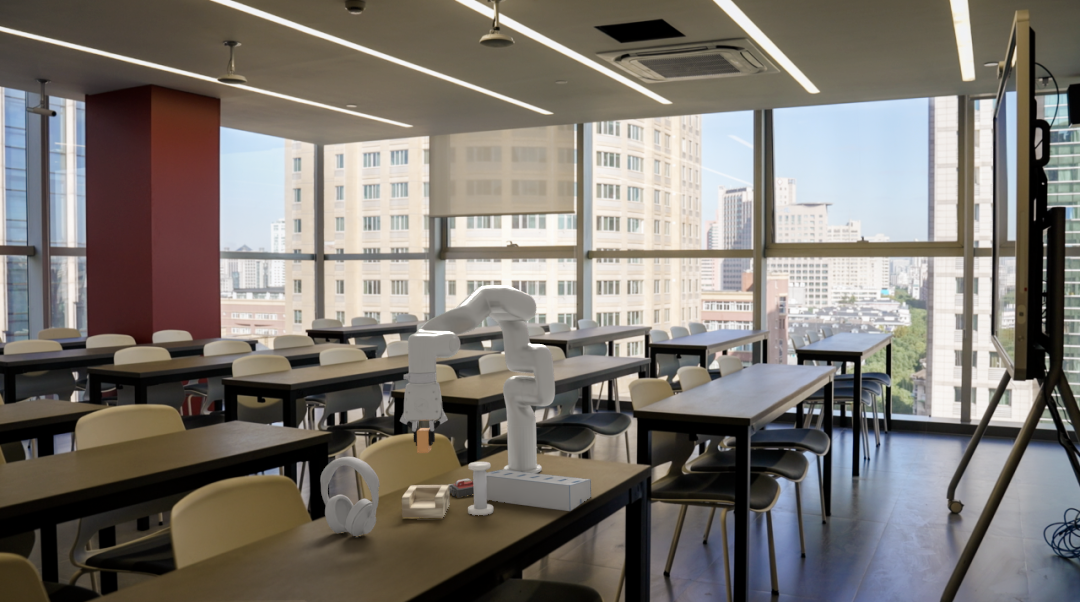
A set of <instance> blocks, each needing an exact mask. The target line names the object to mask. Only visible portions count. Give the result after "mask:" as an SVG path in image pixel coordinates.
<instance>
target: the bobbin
mask: <svg viewBox="0 0 1080 602" xmlns="http://www.w3.org/2000/svg"><path fill="white" fill-rule="evenodd" d="M489 469H491V463H490V462H488V461H474V462H470V463H469V464H468V470H470V471H472V478H473V480H472V481H473V486H474V495H473V504H471V505H469V506H468V507H467V513H468V515H470V514H472V515H471V516H475V515H478V517H479V515H483V516H488V514H489V515H491V514H493V513H494V506H493V504H490V503H488V500H487V481H486V473H487V470H489Z"/></svg>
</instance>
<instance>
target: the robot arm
mask: <svg viewBox="0 0 1080 602" xmlns="http://www.w3.org/2000/svg"><path fill="white" fill-rule="evenodd" d="M536 314H537V303H536V300H535V299H534V298H533V297H532V295H530V294H529V293H526V292H524V291H521V290H520V289H517V288H514V287H513V286H509V285H501V284H500V285H499V284H498V285H481V286H479V287H477V288H475V289H474V290H473V291H472V292H471V293H470V294H469V295H468V296H467V297H465V299H464V300H462V301H461V302H460V303H459V304H457V306H456V307H455V308H451V309H449V310H448V311H445V312H443V313H441V314H439V315H436V316H435V317H433V318H430V319H429V320H427V321H426V322H425V323H424V324H423V325H422V326H420V327H419V328H418V329H417V330H416V332H414V333H412V334H410V335H409V336H408V339H407V347H408V348H407V351H408V356H407V357H408V373H406V374H403V380H406V381H407V382H408V383H406V384H405V387H404V389H405V390H404V399H403V413H402V415H401V417H400V419H399V422H401V423H402V424H404V425H407V426H408V427H409V428H410V429H411V431H412V433H413V443H415V447H417V431H418V430H419V429H420V428H419V422H422V421H424V422H428V423H429V428H430V429H429V446H431V447H432V445H433V444H434V443H435V442H436V433H435V432H436V429H437V428H438V427H439V426H440V425H442V424H443V423H446V422H447V421H448V417H447V415H446V413H445V411H444V409H443V401H442V400H443V399H442V392H441V386H440V382H439V381H437V358H440V359H441V358H443V359H445V358H446V359H447V358H452V357H454V356H455V355H456V354H458V353H459V351H460V349H461V339H460V337H459V336H458V335H463V334H466V333H469V332H472V331H474V330H475V329H477V328H478V327H479V326H480V324H482V322H483V321H484V320H485V319H487V317H490V318H491V319H492V320H493V321H494V322H496V323H497V325H498V326H499V327H500V330H501V333H502V340H503V349H504V350H503V351H504V361H505V365H506V368H507V369H508V370H509V371H510V372H511V373H512V372H514V373H520V374H521V373H522V374H533V375H534V376H531V375H513V376H510V377H508V378H506V380H505V381H504V383H503V388H502V393H503V394H502V395H503V396H504V397H503V398H504V404H505V407H506V408H505V409H506V426H507V427H506V429H507V465H505V466H503V470H509V471H518V472H527V473H536V474H539V473H540V472H542V471H543V470H542V465H540V463H539V464H538V461H537V460H538V458H537V456H538V455H537V424H536V423H537V419H536V418H537V417H536V414H535V412H534V410H533V408H532V406H533V407H547V406H550V405H551V404H552V403H554V400H555V398H556V397H555V395H556V383H555V382H556V381H555V369H554V360H553V359H554V358H553V355H552V354H553V353H552V352H551V350H550V349H549V347H548V346H546V345H544V344H540V343H531V341H530V334H529V327H528V325H527V323H526V322H529V321H531V320H532V319H533V318H534V317H535V316H536Z"/></svg>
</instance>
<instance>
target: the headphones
mask: <svg viewBox="0 0 1080 602" xmlns="http://www.w3.org/2000/svg"><path fill="white" fill-rule="evenodd" d="M342 466H343V467H344V466H347V467H350V468H352V469H354V470H355V471H357V473H358V474H359V475H360V476H361V477H362V479H363V481H364V482H365V484H366V485H367V487H368V490H369V492H370V495H371V501H370V500H369V499H367V498H361V499H360V500H358V501H357V502H356V503H355V504H353V502H352V500H351V499H350V498H349V497H348V496H346V495H344V494H337V495H334V496H331V498H330V497H329V494H328V493H329V492H328V491H329V489H328V488H329V484H330V482H331V480H332V478H333V475H334V474H335V472H336V471H337V469H338V468H340V467H342ZM319 482H320V492H321V496H322V500H323V503H324V505H325V509H324V515H325V520H326V523H327V525H328V527H329V528H330V529H331V530H332V531H333V533H335V534H338V533H341V532H346V533H349V534H350V535H351V536H353V537H354V536H359V535H362V534H363V535H365V534H366V535H368V534H369V533H371V532H372V530H373V529H374V528H375V525H376V523H377V517H376V514H377V508H378V506H379V499H380V495H379V489H380V488H379V487H380V479H379V476H378V474H377V473H376V472H375V469H373V467H371V465H369V464H368V462H366V461H364V460H363V459H360V458H357V457H354V456H342V457H338V458H336V459H333V460H332V461H331V462H330V463H328V464H327V465H326V466H325V468H323V471H322V472H321V475H320V481H319ZM363 535H362V536H363Z"/></svg>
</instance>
